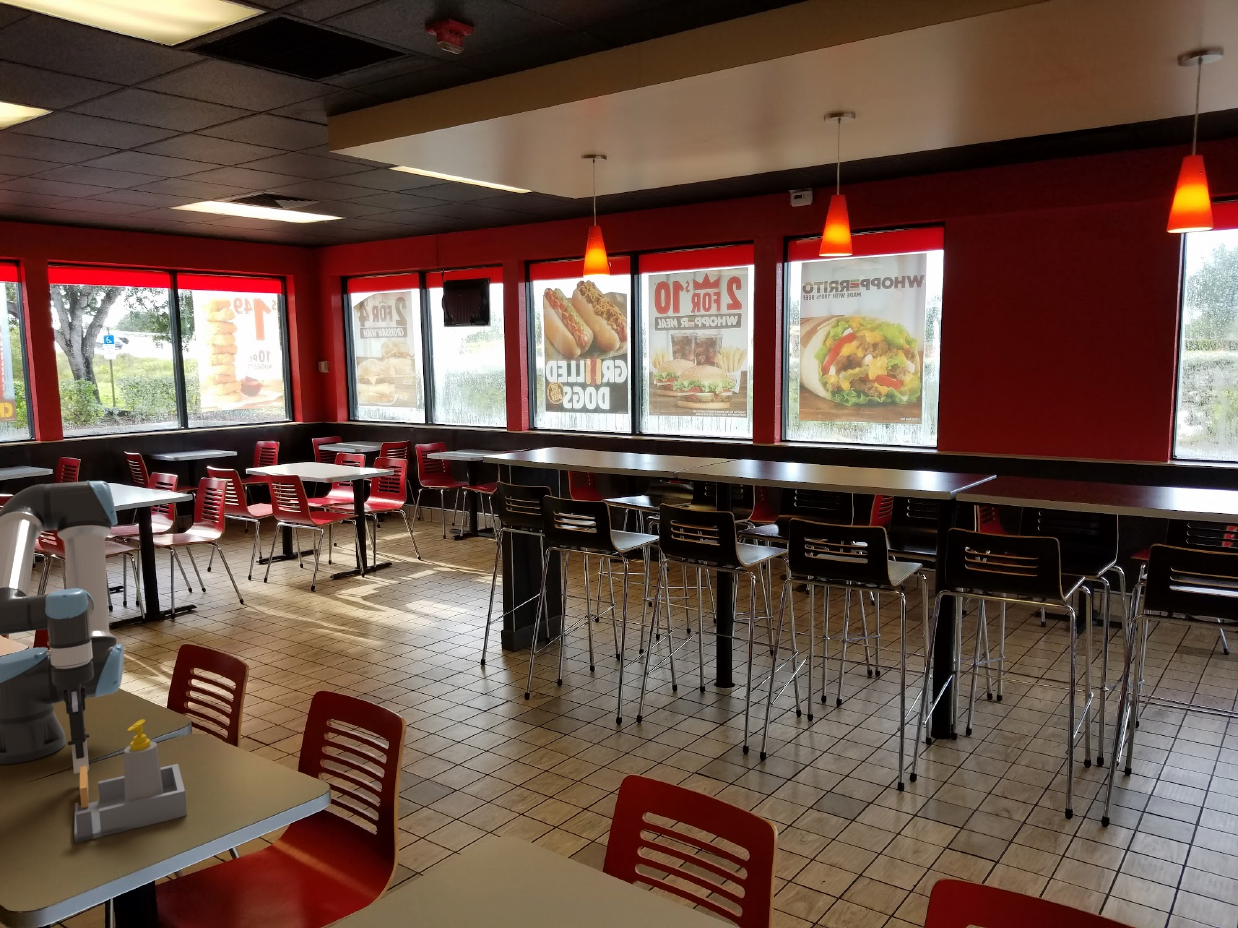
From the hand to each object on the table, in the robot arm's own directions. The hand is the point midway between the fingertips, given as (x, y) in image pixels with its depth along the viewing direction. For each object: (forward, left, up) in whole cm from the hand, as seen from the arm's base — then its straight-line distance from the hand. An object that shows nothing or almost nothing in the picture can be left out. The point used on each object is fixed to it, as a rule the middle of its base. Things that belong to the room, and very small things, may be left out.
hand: (81, 770), depth 188 cm
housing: (+22, +8, -3) cm, 23 cm away
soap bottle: (+24, +11, -2) cm, 27 cm away
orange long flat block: (+11, +1, -1) cm, 11 cm away
